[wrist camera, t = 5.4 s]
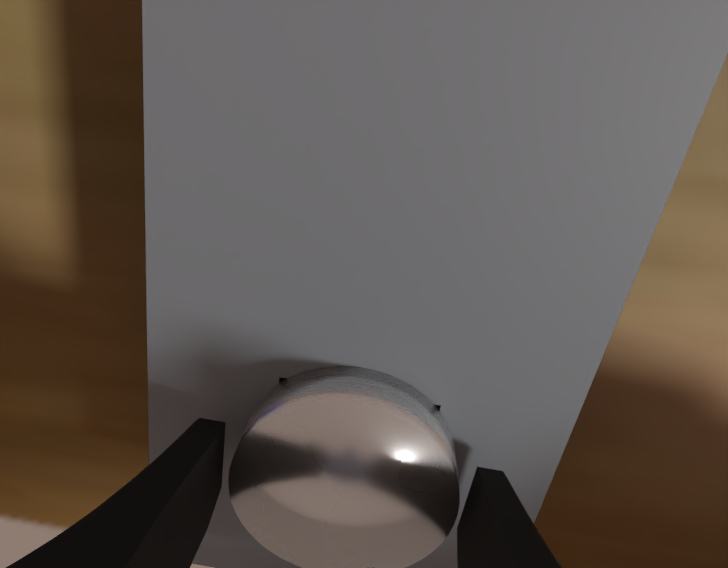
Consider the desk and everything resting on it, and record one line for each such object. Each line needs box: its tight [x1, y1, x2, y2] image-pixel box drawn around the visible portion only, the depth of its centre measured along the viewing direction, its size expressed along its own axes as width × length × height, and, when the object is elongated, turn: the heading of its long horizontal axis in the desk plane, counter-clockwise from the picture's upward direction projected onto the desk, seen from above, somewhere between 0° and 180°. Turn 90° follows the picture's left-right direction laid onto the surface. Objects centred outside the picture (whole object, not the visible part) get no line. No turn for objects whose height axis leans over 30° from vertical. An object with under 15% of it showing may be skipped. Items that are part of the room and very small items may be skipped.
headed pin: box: [228, 366, 460, 568], centre depth 15 cm, size 5×5×5 cm
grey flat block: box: [142, 0, 728, 568], centre depth 14 cm, size 18×10×4 cm, turn 171°
